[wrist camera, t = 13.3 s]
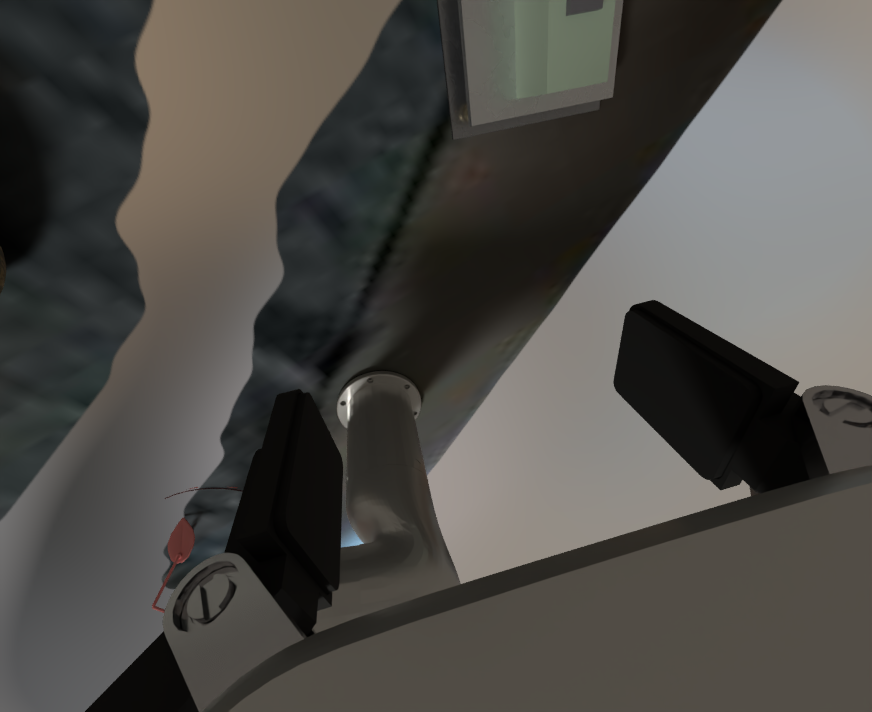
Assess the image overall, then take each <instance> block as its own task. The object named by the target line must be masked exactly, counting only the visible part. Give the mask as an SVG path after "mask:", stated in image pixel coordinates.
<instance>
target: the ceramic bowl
mask: <svg viewBox="0 0 872 712" xmlns="http://www.w3.org/2000/svg"><path fill="white" fill-rule="evenodd" d="M5 276H6V262H5V258H4V254H3V251H2V248H1V246H0V293H1V291H2V289H3V286H4V283H5Z"/></svg>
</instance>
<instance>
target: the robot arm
mask: <svg viewBox="0 0 872 712" xmlns="http://www.w3.org/2000/svg"><path fill="white" fill-rule="evenodd" d="M798 384H799V382H798V381H796V380H795V379H793V378H791V377H789V376H788V375H786V374H784V373H782V372H780V371H779V370H777V369H775V368H774V367H772V366H770V365H768V364H767V363H765V362H763V361H761V360H760V359H758V358H756V357H754V356H753V355H751V354H749V353H747V352H746V351H744V350H742V349H740V348H738V347H737V346H735V345H733V344H732V343H730V342H728V341H726V340H725V339H723V338H721V337H719V336H718V335H716V334H714V333H712V332H710V331H709V330H707V329H705V328H704V327H702V326H700V325H698V324H697V323H695V322H693V321H691V320H690V319H688V318H686V317H684V316H683V315H681V314H679V313H677V312H676V311H674V310H672V309H670V308H669V307H667V306H665V305H663V304H662V303H660V302H658V301H655V300H651V301H647V302H643V303H639V304H636V305H633V306H632V307H631V308H630V310H629V311H628V312H627V313H626V315H625V319H624V325H623V331H622V336H621V342H620V348H619V354H618V359H617V365H616V370H615V376H614V387H615V389H616V391H617V392H618V393H619V394H620V395H621V396H622V397H623V398H624V400H625V401H627V402H628V403H629V405H631V406H632V408H633V409H634V410H636V412H637V413H639V415H640V416H641V417H643V419H644V420H645V421H647V423H648V424H649V425H650V426H651V427H652V428H654V430H655V431H656V432H657V433H658V434H659V435H661V437H663V438H664V439H665V440H666V442H667V443H668V444H669V445H670V446H671V447H672V448H673V449H674V450H675V451H676V452H677V453H678V454H679V455H680V456H681V457H682V458H683V459H684V460H685V461H686V462H687V463H688V464H690V466H691V467H692V468H693V469H694V470H695V471H696V472H698V474H699V475H700V476H702V477H703V478H705V479H707V480H710V481H711V482H713V484H714V485H716V486H717V487H718V488H719V489H720V490H723V489H726V488H730V487H733V486H737V485H740V483H741V481H742V480H744V481H745V482H746V483H747V484H748V485H749V486H750V492H751V497H747V498H744V499H741V500H737V501H734V502H731V503H727V504H724V505H721V506H717V507H714V508H710V509H707V510H704V511H700V512H697V513H694V514H690V515H687V516H684V517H680V518H677V519H673V520H670V521H667V522H663V523H660V524H657V525H653V526H650V527H647V528H643V529H640V530H637V531H634V532H630V533H627V534H624V535H620V536H617V537H614V538H610V539H608V540H604V541H601V542H597V543H594V544H591V545H587V546H584V547H581V548H577V549H574V550H571V551H567V552H564V553H561V554H558V555H554V556H551V557H548V558H545V559H541V560H538V561H535V562H532V563H528V564H525V565H522V566H518V567H515V568H512V569H509V570H505V571H502V572H499V573H496V574H492V575H489V576H486V577H483V578H479V579H476V580H473V581H470V582H466V583H463V584H460V581H459V578H458V574H457V571H456V569H455V566H454V564H453V562H452V559H451V556H450V554H449V551H448V549H447V546H446V544H445V541H444V539H443V536H442V533H441V530H440V528H439V524H438V521H437V517H436V514H435V511H434V506H433V502H432V498H431V493H430V489H429V484H428V479H427V474H426V470H425V465H424V460H423V455H422V451H421V446H420V441H419V437H418V432H417V427H416V423H415V420H416V418H417V417H418V415H419V412H420V410H421V397H420V393H419V391H418V389H417V387H416V385H415V384H414V383H413V382H412V381H411V380H409V379H408V378H407V377H405V376H403V375H401V374H398V373H394V372H389V371H374V372H369V373H365V374H363V375H360V376H358V377H356V378H354V379H353V380H351V381H350V382H349V383H348V384H346V385H345V387H344V388H343V389H342V390H341V392H340V394H339V396H338V400H337V415H338V418H339V420H340V422H341V423H342V424H343V426H344V427H345V428H346V429H347V470H346V511H347V516H348V519H349V521H350V524H351V526H352V528H353V530H354V531H355V533H356V534H357V536H358V537H359V538H360V539H361V541H362V542H363V543H364V544H360V545H357V546H350V547H342V548H341V517H342V482H343V462H342V458H341V455H340V453H339V451H338V449H337V447H336V444H335V442H334V440H333V438H332V436H331V434H330V432H329V430H328V428H327V426H326V424H325V422H324V420H323V418H322V416H321V414H320V412H319V410H318V408H317V406H316V404H315V402H314V400H313V398H312V396H311V395H310V393H308V392H307V393H303V392H302V391H301V390H300V389H297V390H294V391H290V392H286V393H282V394H279V395H277V397H276V400H275V404H274V407H273V411H272V414H271V418H270V421H269V425H268V428H267V432H266V435H265V439H264V442H263V446H262V448H261V449H258V450H257V451H256V452H255V455H254V457H253V460H252V463H251V466H250V470H249V473H248V476H247V480H246V483H245V486H244V490H243V493H242V496H241V500H240V503H239V506H238V510H237V513H236V516H235V520H234V523H233V526H232V529H231V533H230V536H229V539H228V543H227V546H226V549H225V553H223V554H218V555H215V556H213V557H211V558H209V559H207V560H205V561H203V562H202V563H200V564H199V565H198V566H196V567H195V568H194V569H192V570H191V571H190V572H189V573H188V574H187V575H186V577H185V578H184V579H183V580H182V581H181V582H180V583H179V585H178V586H177V588H176V589H175V590H174V592H173V593H172V595H171V597H170V599H169V601H168V604H167V606H166V608H165V612H164V617H163V628H164V632H163V633H162V634H161V635H160V636H159V637H158V638H157V639H156V640H155V641H154V642H153V643H152V644H151V645H150V646H149V647H148V648H147V649H146V650H145V651H144V652H143V653H142V654H141V655H140V656H139V657H138V658H137V659H136V660H135V661H134V662H133V663H132V664H131V665H130V666H129V667H128V668H127V669H126V670H125V671H124V672H123V673H122V674H121V675H120V676H119V677H118V678H117V679H116V681H114V682H113V683H112V684H111V685H110V687H108V689H107V690H106V691H105V692H104V693H103V694H102V695H101V696H100V697H99V698H98V699H97V700H96V701H95V702H94V703H93V704H92V705H91V706H90V707H89V708H88V709H87V710H86V711H85V712H872V396H871V395H868V394H866V393H863V392H860V391H856V390H853V389H849V388H844V387H839V386H826V385H825V386H815V387H812V388H809V389H807V390H806V391H805V392H804V393H803V394H802V396H801V397H800V396H799V395H797V394H795V393H794V391H795V389H796V387H797V385H798Z"/></svg>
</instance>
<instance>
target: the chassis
mask: <svg viewBox="0 0 872 712" xmlns="http://www.w3.org/2000/svg"><path fill="white" fill-rule="evenodd" d="M437 7H438V16H439V25H440V33H441V42H442V51H443V60H444V69H445V77H446V86H447V95H448V104H449V113H450V121H451V130H452V139H453V140H454V139H459V138H464V137H469V136H474V135H479V134H483V133H488V132H493V131H498V130H503V129H508V128H513V127H517V126H522V125H527V124H532V123H537V122H542V121H547V120H551V119H556V118H561V117H566V116H571V115H576V114H580V113H585V112H590V111H595V110H599V107H600V100H602V99H607V98H612V97H613V90H614V81H615V72H616V63H617V53H618V44H619V35H620V26H621V16H622V7H623V0H616V1H615V11H614V21H613V31H612V41H611V51H610V61H609V71H608V81H607V82H604V83H599V84H594V85H589V86H584V87H579V88H574V89H569V90H564V91H559V92H554V93H549V94H543V95H537V96H532V97H526V98H520V99H517V96H516V48H515V1H514V0H437Z"/></svg>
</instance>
